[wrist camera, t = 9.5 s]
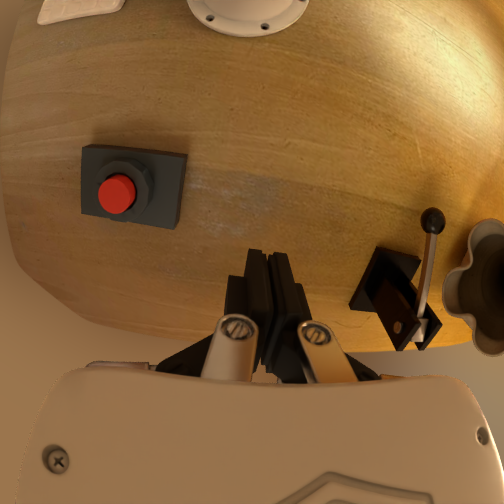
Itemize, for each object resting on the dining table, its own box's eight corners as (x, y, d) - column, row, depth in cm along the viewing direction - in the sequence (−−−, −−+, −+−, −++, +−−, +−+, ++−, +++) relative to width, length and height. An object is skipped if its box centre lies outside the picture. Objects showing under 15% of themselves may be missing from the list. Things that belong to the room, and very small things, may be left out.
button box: (89, 207, 29) (73, 219, 26) (91, 144, 25) (73, 150, 22) (178, 221, 31) (170, 237, 27) (187, 154, 27) (179, 161, 23)
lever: (416, 205, 28) (434, 202, 25) (433, 212, 29) (451, 210, 26) (393, 334, 29) (410, 343, 25) (412, 335, 29) (428, 342, 26)
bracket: (376, 246, 33) (420, 302, 23) (417, 256, 34) (461, 307, 24) (348, 304, 38) (374, 366, 28) (388, 309, 39) (419, 364, 29)
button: (105, 205, 25) (98, 211, 24) (106, 172, 24) (98, 177, 22) (135, 210, 26) (129, 216, 24) (137, 176, 24) (130, 181, 23)
